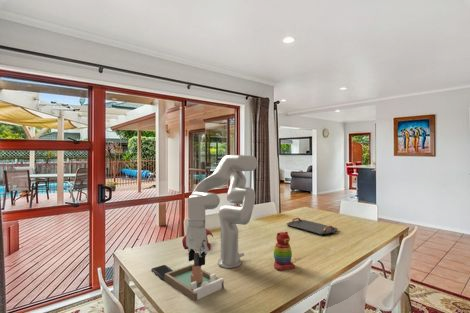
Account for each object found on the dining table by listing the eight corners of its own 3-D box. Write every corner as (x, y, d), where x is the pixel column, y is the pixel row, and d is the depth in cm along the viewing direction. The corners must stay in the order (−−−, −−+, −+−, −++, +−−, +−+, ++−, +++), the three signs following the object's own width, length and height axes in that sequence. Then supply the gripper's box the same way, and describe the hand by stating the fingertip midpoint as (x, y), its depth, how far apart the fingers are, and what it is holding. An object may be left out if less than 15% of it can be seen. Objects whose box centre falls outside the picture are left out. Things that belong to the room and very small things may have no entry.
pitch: (192, 270, 132) (192, 260, 132) (223, 287, 114) (223, 276, 114) (164, 280, 121) (164, 269, 121) (194, 301, 104) (194, 288, 104)
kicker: (199, 280, 118) (199, 251, 118) (202, 281, 117) (202, 252, 117) (190, 283, 115) (190, 254, 115) (193, 285, 113) (193, 255, 113)
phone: (163, 279, 120) (150, 268, 132) (163, 281, 120) (150, 270, 132) (178, 274, 125) (165, 264, 137) (178, 276, 125) (165, 266, 137)
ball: (210, 291, 112) (205, 285, 115) (212, 284, 111) (207, 278, 114) (203, 295, 109) (197, 288, 112) (205, 287, 108) (199, 281, 111)
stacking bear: (277, 271, 131) (277, 236, 130) (269, 263, 140) (269, 230, 140) (297, 268, 134) (297, 234, 133) (287, 261, 143) (287, 229, 143)
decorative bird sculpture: (216, 248, 174) (204, 230, 180) (224, 241, 171) (212, 222, 176) (188, 263, 150) (175, 241, 155) (197, 255, 147) (183, 232, 152)
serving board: (283, 226, 215) (283, 219, 215) (301, 222, 229) (301, 215, 229) (324, 238, 184) (324, 229, 184) (342, 232, 198) (342, 224, 198)
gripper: (179, 220, 119) (178, 259, 119) (201, 228, 107) (201, 271, 107) (192, 218, 125) (192, 255, 125) (215, 224, 112) (215, 266, 112)
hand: (196, 262), depth 116 cm, fingers open, 6 cm apart
